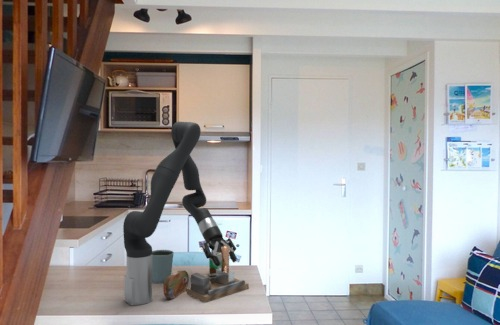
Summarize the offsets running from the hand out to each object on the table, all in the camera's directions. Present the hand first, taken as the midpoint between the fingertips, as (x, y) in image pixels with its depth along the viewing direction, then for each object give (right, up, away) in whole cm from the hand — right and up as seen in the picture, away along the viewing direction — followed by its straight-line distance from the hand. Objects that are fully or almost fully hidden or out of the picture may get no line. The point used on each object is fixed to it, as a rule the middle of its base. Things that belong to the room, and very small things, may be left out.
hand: (227, 263), depth 155 cm
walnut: (-8, -9, -5) cm, 13 cm away
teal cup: (-29, -10, +12) cm, 33 cm away
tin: (-20, -11, -5) cm, 23 cm away
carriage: (-1, -8, +1) cm, 8 cm away
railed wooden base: (-4, -11, -1) cm, 11 cm away
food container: (-6, -10, +20) cm, 23 cm away
